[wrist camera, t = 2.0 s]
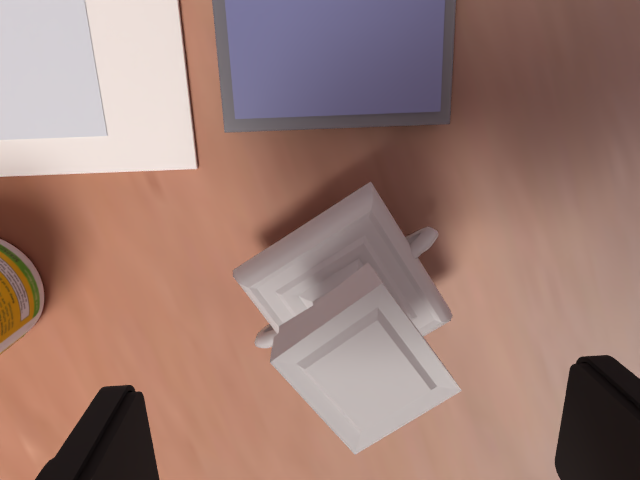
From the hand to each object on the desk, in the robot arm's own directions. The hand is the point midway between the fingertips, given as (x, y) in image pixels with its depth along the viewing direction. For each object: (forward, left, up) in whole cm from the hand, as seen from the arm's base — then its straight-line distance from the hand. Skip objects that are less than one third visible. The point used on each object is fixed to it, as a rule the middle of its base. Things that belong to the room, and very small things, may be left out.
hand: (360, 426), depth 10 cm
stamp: (0, +1, -11) cm, 11 cm away
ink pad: (0, -11, -11) cm, 16 cm away
